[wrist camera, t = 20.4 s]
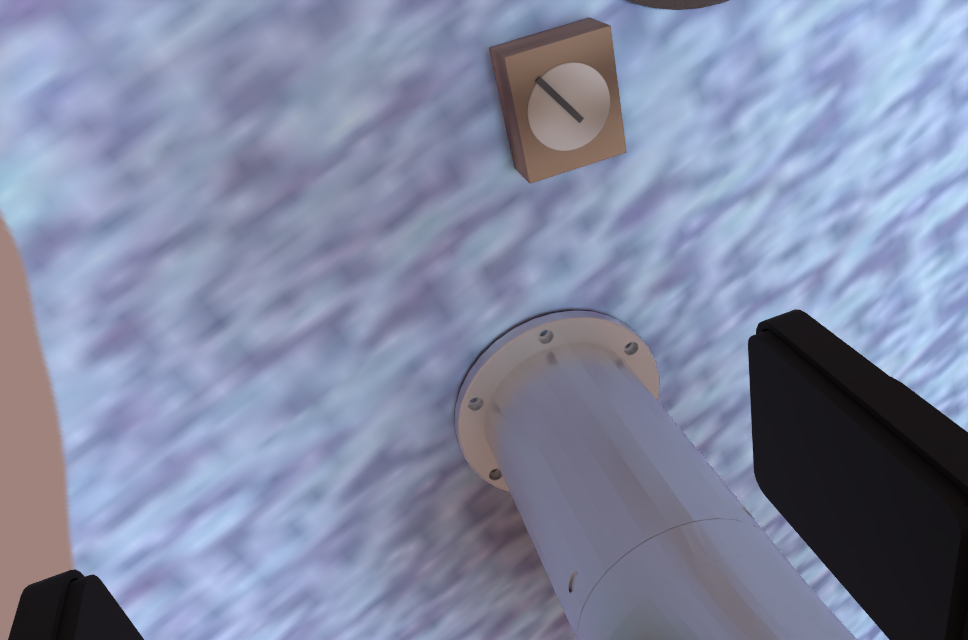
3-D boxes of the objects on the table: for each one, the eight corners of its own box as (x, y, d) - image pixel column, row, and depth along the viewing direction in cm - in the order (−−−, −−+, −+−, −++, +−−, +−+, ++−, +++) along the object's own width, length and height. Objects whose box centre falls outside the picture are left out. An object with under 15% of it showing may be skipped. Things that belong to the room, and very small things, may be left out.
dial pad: (606, 138, 40) (628, 153, 38) (514, 167, 40) (531, 185, 37) (589, 17, 37) (612, 26, 35) (489, 47, 36) (505, 58, 34)
